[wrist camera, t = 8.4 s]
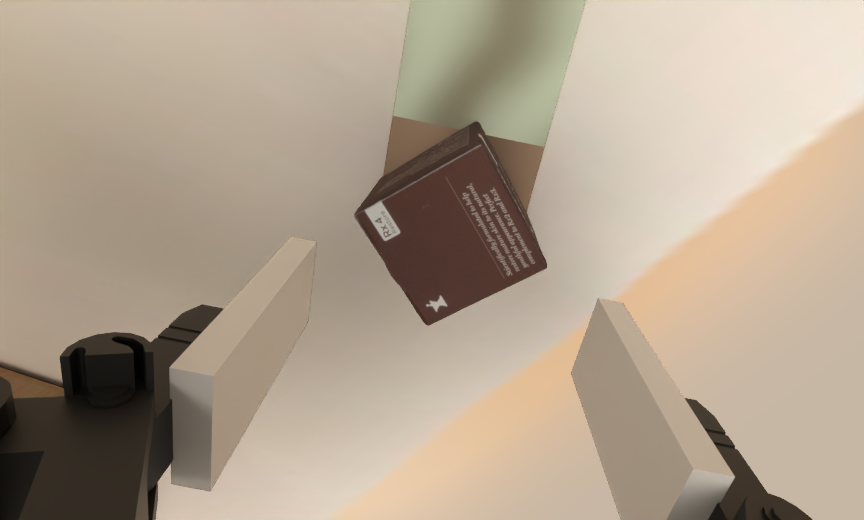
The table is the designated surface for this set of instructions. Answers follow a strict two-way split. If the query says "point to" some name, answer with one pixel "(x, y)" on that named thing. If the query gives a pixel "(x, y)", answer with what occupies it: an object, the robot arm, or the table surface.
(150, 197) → the table surface
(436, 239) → the box
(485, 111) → the track
